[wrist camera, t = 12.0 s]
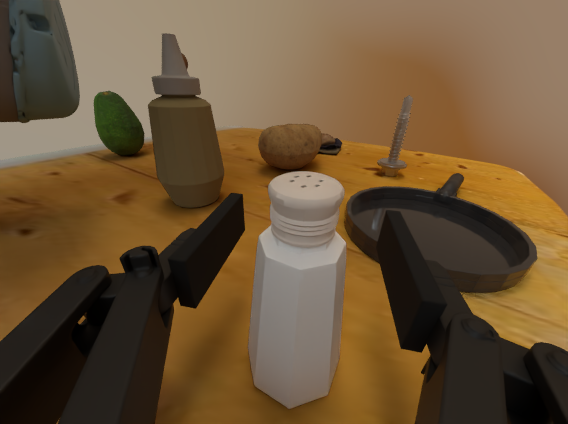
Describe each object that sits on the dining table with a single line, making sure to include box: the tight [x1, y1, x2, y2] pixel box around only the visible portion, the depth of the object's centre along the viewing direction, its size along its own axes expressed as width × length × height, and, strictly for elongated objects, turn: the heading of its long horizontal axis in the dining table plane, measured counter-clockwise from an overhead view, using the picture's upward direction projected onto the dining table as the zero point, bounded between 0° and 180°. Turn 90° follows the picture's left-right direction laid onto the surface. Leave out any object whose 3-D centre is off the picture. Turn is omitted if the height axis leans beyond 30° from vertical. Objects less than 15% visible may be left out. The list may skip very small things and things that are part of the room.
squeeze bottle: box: [148, 34, 224, 208], centre depth 27 cm, size 8×8×18 cm
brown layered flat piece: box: [318, 134, 342, 154], centre depth 58 cm, size 11×8×4 cm
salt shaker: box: [248, 171, 346, 409], centre depth 11 cm, size 5×5×11 cm
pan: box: [344, 187, 537, 293], centre depth 25 cm, size 17×17×2 cm
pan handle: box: [433, 173, 464, 205], centre depth 34 cm, size 11×2×2 cm, turn 138°
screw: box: [377, 95, 413, 177], centre depth 40 cm, size 13×5×5 cm
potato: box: [258, 124, 322, 170], centre depth 43 cm, size 10×14×8 cm
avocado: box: [94, 91, 144, 155], centre depth 46 cm, size 8×8×12 cm
